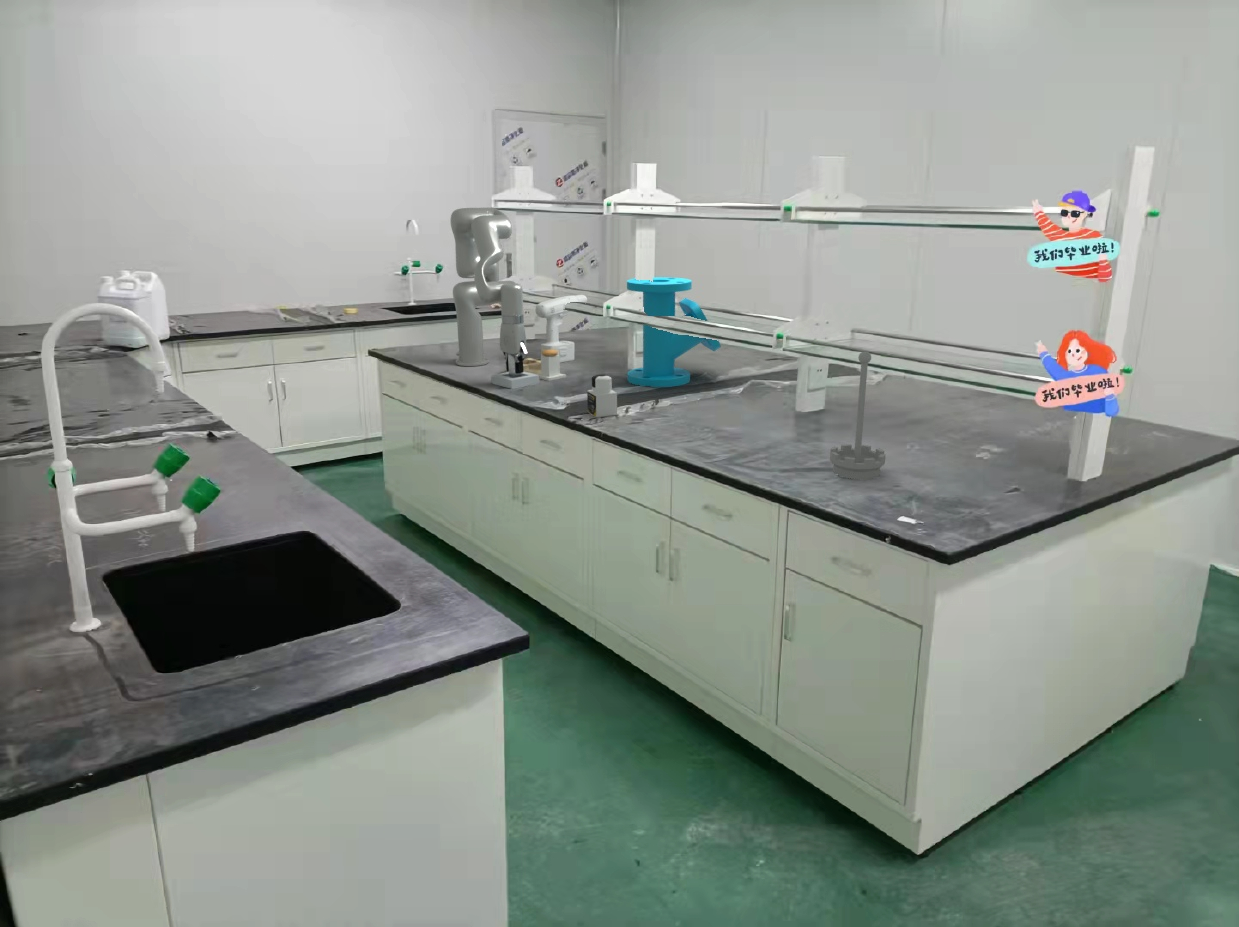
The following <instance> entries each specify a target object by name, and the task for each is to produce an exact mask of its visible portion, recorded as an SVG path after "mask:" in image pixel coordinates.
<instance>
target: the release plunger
mask: <svg viewBox="0 0 1239 927" xmlns="http://www.w3.org/2000/svg"><path fill="white" fill-rule="evenodd" d="M557 354H558V350H554V349H547V350H542V355H544V356H546V357H553V356H556V355H557Z"/></svg>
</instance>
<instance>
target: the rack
mask: <svg viewBox="0 0 1239 927" xmlns="http://www.w3.org/2000/svg"><path fill="white" fill-rule="evenodd" d="M523 371H524V372H528V373H532V374H536V375H537V374H541V359H535V358H531V357H527V358H526V357H525V359H524V361H523ZM506 372H509V371H507V369H506V368H505V373H506Z"/></svg>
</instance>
